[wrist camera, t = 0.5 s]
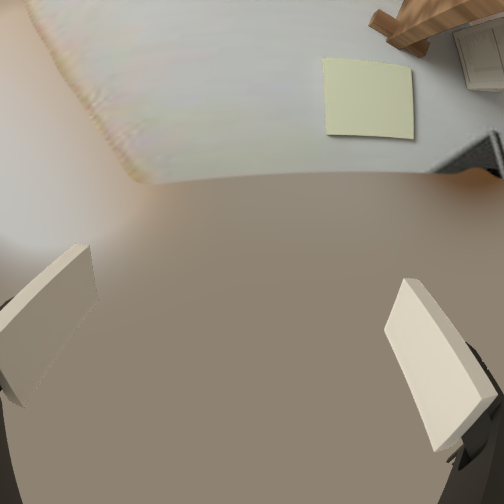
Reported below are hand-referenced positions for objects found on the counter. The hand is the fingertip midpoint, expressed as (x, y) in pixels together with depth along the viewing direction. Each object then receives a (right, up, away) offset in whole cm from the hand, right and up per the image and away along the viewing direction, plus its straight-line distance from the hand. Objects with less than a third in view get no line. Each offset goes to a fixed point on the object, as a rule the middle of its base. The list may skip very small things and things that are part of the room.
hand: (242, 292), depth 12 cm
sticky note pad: (+15, +21, +21) cm, 33 cm away
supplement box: (+35, +30, +16) cm, 48 cm away
